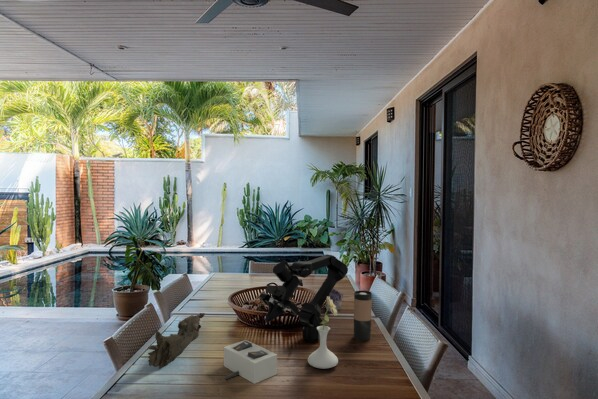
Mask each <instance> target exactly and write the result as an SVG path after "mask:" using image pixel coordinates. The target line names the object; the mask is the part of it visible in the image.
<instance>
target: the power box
mask: <svg viewBox="0 0 598 399" xmlns="http://www.w3.org/2000/svg"><path fill="white" fill-rule="evenodd" d="M244 341H248V342H250V343H252V346H251V347H249V348H247V349H244V350H241V351H236V350H234V349H233V348H234V347H235V346H237V345H239V344H241V343H242V342H244ZM256 351H262V352H264V353H266V354H268V355H265V356H262V357H260V358H252V357H250V356H248V352H256ZM223 367H225V368H227V369H228V370H230V371H232V373H229V374H226V375H225V379H226V380H228V379H229V380H230V379H231V378H233V377H236V376H238V375H239V376H240V377H242V378H244V379H245V380H246V381H248V382H250V383H252V384H257V383H259V382H262V381H264V380H266V379H269V378H271V377H274V376H276V375H277V373H278V371H277V370H278V354H277V353H275V352H273V351H270V350H268V349H266V348H264V347H262V346H259V345H257V344H256V343H253V342H251V341H249V340H247V339H245V340H242V341H238V342H234V343H232V344H229V345H226V346H224V347H223Z"/></svg>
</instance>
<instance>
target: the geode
mask: <svg viewBox="0 0 598 399" xmlns="http://www.w3.org/2000/svg"><path fill="white" fill-rule="evenodd" d="M329 297H330V300H331V299H332V300H333V303H334V305H335V306H336V308H335V309H336V310H337V312H338V313H339V312H340V311H341V308H342V302H343V299H344V294H343V293H342V292H339V290H337V289H334V288H333V289H332V291H331V292H330V294H329V296H328V298H329ZM328 307H329V305H328V302H327V304H326V305H325V307H324V306H323V308H324V309H326V311H327V309H328ZM327 313H332V312H331V310H330V308H329V309H328V311H327ZM332 314H333V313H332Z"/></svg>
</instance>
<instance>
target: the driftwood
mask: <svg viewBox="0 0 598 399" xmlns="http://www.w3.org/2000/svg"><path fill="white" fill-rule="evenodd" d="M205 314H206V313H205V312H202V313H201V312H199V314H196V315H190V316H187V317H185V318H184V319H182V320H181V321H178V323H177V324H178V325H177V328H178V331H177V333H170V334H169V336H164V335H162V333H161V332H159V331H158V330H155V334H154V335H155V337H154V338H155V341H156V345H150V346H148V347H147V349H148V350H151V351H150V352H147V354H148V355H149V356H148V359H147V360H148V365H149V366H150V367H151V366H152V367H154V368H157V367H159V369H161V368H162V367H166V366H167V365H169V364H170V363H171V362H172V361H173V360H176V358H177V357H178V356H180V355H181V354H183V352H184V351H185V349H186V348H187V347H188V346H189V345H190V344H191V343H192V342H193V341H195V340H196V339H198V338H199V335H200V333H199V331H200V329H201V328H202V325H201V323H200V321H201V319H202V318H203V317H205Z"/></svg>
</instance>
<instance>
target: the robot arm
mask: <svg viewBox="0 0 598 399" xmlns="http://www.w3.org/2000/svg"><path fill="white" fill-rule="evenodd" d="M325 267H326V269H327V270H326V272H327V276H326V278H325V279H324V281H323V283H322V284H321V285H320V287H319V289H318V291H317V292H316V293H315V295H314V296H313V298H312V300H311V301H310V302H306V301H305V302H304V303H303V305H302V306H301V307H300V308H299V307H298V305H297V304H296V303H295V301H291V298H292V299H293V298H294V297H295V295H294V294H295V292H296V291H297V289H298V287H303V286H304V284H303V280H302V279H300V278H308V277H309V276H311V275H312V274H313V272H314V271H316V270H319V269H322V268H325ZM348 272H349V268H348V265H347V264H345V263H344V262H343V261H341V260H339V259H338V258H337V257H336V256H335V255H332V254H323V255H322V256H319V257H316V258H314V259H310V260H308V261H307V260H306V261H301V260H300V261H294V262H293V263H292V264H290V265H289V263H288V262H287V260H281V262H279V263H276V265H274V266H273V268H272V273H273V274H274V275H275V276H276V277H277V279H278V280H279V281H280V282H282V284H281V285H278V286H275V285H271V284H267V286H266V289H265V292H261V293H260V294H259V296H258V299H260V300H261V301H262V302H263V304H265V306H268V309H267V310H268V311H267V314H266V318H265V322H266V323H268V324H269V323H271V322H272V321H273V320H275V319H277V318H279V317H280V316H282V315H284V314H286V313H287V312H286V311H287V310H290V314H291V315H294V316H297V315H298V317H299V321H300V324H301V325H303V328H302V339H303V343H320V334H319V331H318V330H317V327H318V326H323V324H320V323H321V322H322V321H323V319H322V318H321V313H322V310H321V309H322V307H323V306H324V302H325V300H326V299H327V296H329V294H330V292H331V291H332V289H334V288H335V286H336V284H337V283H338V282H340V281H342V280H344V279H345V277H346V276H347V274H348ZM299 277H300V278H299Z"/></svg>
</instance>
